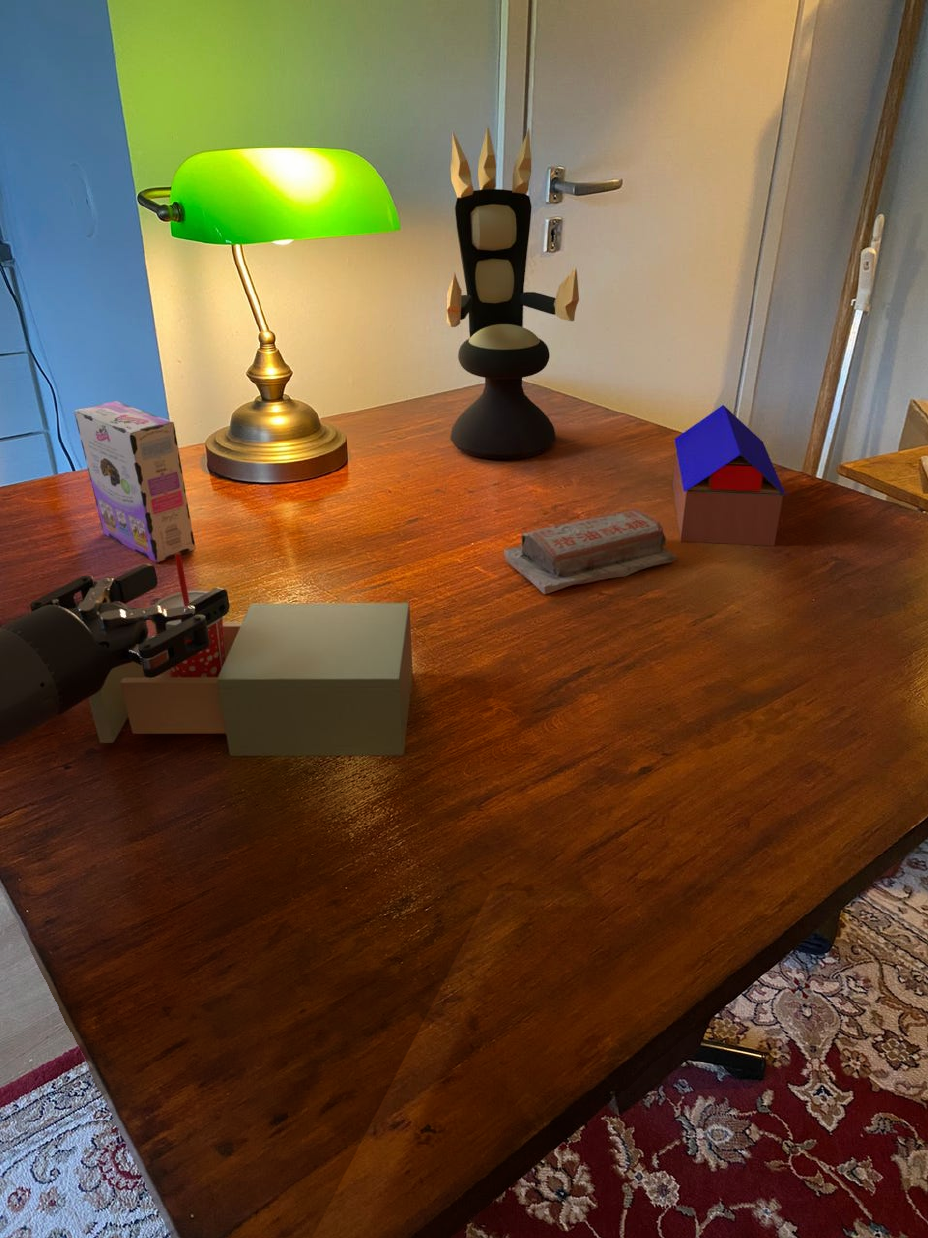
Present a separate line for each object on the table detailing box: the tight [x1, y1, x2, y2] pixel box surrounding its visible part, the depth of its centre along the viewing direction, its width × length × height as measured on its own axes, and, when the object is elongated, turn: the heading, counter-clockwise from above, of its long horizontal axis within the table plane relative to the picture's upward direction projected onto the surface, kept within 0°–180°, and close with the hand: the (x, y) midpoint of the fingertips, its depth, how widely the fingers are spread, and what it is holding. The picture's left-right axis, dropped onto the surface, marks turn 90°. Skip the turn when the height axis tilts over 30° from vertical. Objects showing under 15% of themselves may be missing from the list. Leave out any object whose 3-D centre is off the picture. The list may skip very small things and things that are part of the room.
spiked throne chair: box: [446, 124, 580, 460], centre depth 136 cm, size 19×22×45 cm
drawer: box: [87, 621, 243, 744], centre depth 81 cm, size 18×12×6 cm, turn 89°
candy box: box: [73, 400, 196, 564], centre depth 111 cm, size 14×6×16 cm, turn 46°
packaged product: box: [503, 508, 677, 595], centre depth 107 cm, size 18×5×10 cm
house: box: [671, 404, 787, 547], centre depth 118 cm, size 12×20×12 cm, turn 172°
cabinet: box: [217, 602, 414, 757], centre depth 81 cm, size 15×13×8 cm
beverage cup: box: [151, 552, 226, 677], centre depth 78 cm, size 6×6×14 cm
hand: (188, 585), depth 77 cm, fingers open, 8 cm apart
